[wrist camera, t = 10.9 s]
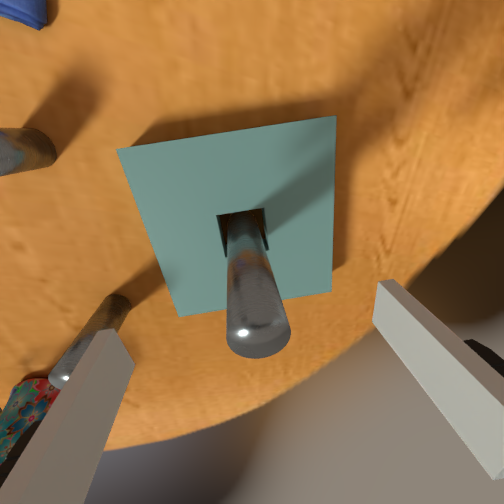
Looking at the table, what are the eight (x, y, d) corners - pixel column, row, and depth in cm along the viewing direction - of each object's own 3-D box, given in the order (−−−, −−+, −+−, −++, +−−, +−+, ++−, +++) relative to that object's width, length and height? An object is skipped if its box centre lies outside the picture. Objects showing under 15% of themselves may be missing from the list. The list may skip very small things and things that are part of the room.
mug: (86, 377, 35) (33, 469, 25) (80, 413, 38) (32, 505, 29) (-12, 362, 32) (-113, 460, 22) (-8, 402, 35) (-93, 501, 26)
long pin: (225, 212, 25) (220, 317, 11) (254, 207, 25) (288, 306, 11) (230, 239, 26) (232, 362, 12) (258, 234, 27) (292, 352, 12)
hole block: (129, 147, 21) (115, 149, 19) (323, 117, 22) (336, 115, 19) (183, 300, 30) (178, 317, 27) (322, 277, 30) (331, 291, 27)
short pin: (6, 131, 20) (-73, 131, 15) (44, 125, 20) (-22, 123, 15) (28, 170, 22) (-37, 182, 16) (63, 164, 22) (9, 175, 16)
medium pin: (99, 296, 28) (40, 371, 20) (125, 292, 28) (78, 365, 20) (110, 316, 30) (60, 394, 21) (135, 312, 30) (95, 388, 21)
